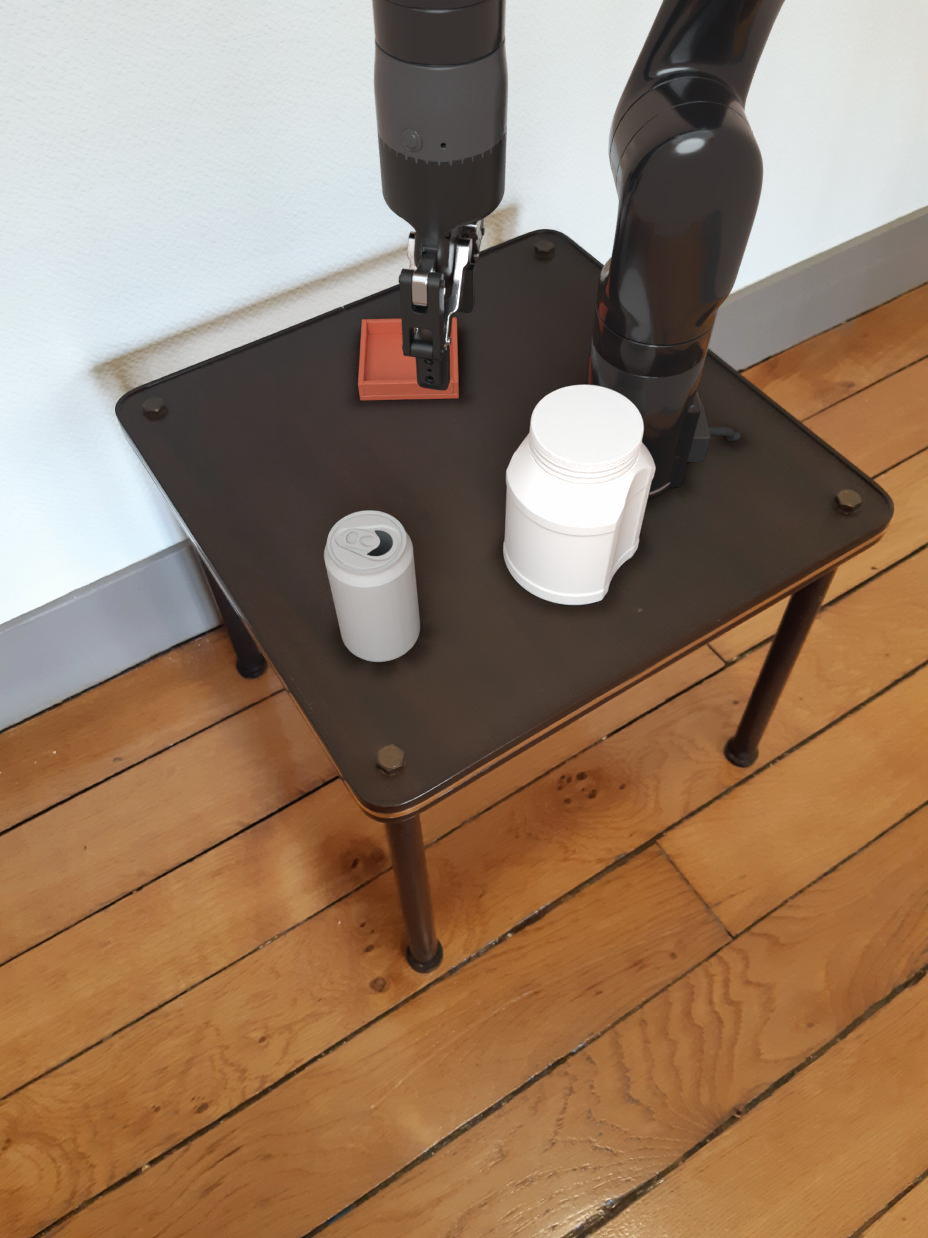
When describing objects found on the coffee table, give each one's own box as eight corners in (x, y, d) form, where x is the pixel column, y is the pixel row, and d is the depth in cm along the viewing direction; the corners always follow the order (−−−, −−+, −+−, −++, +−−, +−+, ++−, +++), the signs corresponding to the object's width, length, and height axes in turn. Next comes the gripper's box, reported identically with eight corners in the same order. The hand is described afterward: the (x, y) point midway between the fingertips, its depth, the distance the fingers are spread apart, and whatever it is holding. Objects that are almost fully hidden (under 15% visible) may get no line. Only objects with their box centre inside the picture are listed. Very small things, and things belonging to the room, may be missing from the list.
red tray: (457, 333, 97) (456, 316, 95) (458, 398, 92) (458, 381, 90) (363, 335, 97) (361, 318, 95) (360, 400, 92) (357, 384, 90)
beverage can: (410, 673, 74) (400, 582, 64) (332, 659, 75) (310, 567, 65) (428, 607, 78) (421, 512, 68) (353, 595, 78) (335, 499, 68)
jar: (555, 486, 85) (568, 354, 73) (650, 530, 82) (681, 400, 70) (487, 572, 80) (489, 445, 67) (586, 623, 77) (608, 499, 64)
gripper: (481, 196, 50) (479, 422, 63) (527, 65, 58) (515, 291, 71) (345, 180, 51) (370, 406, 64) (407, 54, 58) (419, 279, 72)
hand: (447, 345), depth 67 cm, fingers open, 8 cm apart
